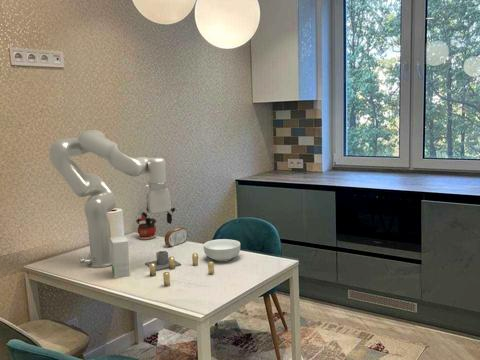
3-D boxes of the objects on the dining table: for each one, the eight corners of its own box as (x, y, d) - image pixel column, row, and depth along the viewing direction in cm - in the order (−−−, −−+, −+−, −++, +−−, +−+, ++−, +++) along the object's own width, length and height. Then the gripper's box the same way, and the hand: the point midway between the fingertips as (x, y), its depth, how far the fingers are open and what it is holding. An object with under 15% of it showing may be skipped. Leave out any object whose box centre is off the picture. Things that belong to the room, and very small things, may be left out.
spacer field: (165, 286, 181) (164, 274, 180) (146, 273, 197) (146, 262, 196) (215, 273, 193) (214, 262, 193) (194, 262, 209) (193, 251, 208)
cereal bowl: (233, 266, 202) (232, 250, 201) (198, 263, 208) (197, 247, 207) (246, 254, 218) (245, 239, 217) (213, 251, 224) (212, 237, 222)
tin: (184, 240, 246) (183, 224, 244) (189, 241, 244) (188, 225, 242) (164, 248, 233) (163, 231, 232) (169, 248, 232) (167, 232, 230)
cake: (159, 235, 257) (157, 203, 254) (153, 240, 248) (151, 207, 245) (141, 235, 259) (139, 203, 256) (134, 240, 250) (132, 207, 247)
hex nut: (160, 266, 204) (159, 254, 203) (155, 263, 209) (155, 251, 208) (169, 263, 207) (169, 252, 206) (165, 260, 211) (164, 250, 210)
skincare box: (112, 272, 200) (109, 237, 198) (127, 270, 202) (124, 235, 200) (115, 279, 192) (111, 242, 190) (131, 276, 195) (128, 240, 192)
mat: (155, 271, 199) (155, 269, 199) (145, 264, 209) (145, 262, 209) (181, 265, 206) (181, 263, 206) (169, 258, 216) (169, 257, 216)
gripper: (141, 189, 195) (143, 229, 197) (179, 185, 204) (180, 223, 207) (135, 187, 201) (137, 226, 203) (171, 183, 210) (173, 220, 213)
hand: (159, 224), depth 205 cm, fingers open, 9 cm apart
